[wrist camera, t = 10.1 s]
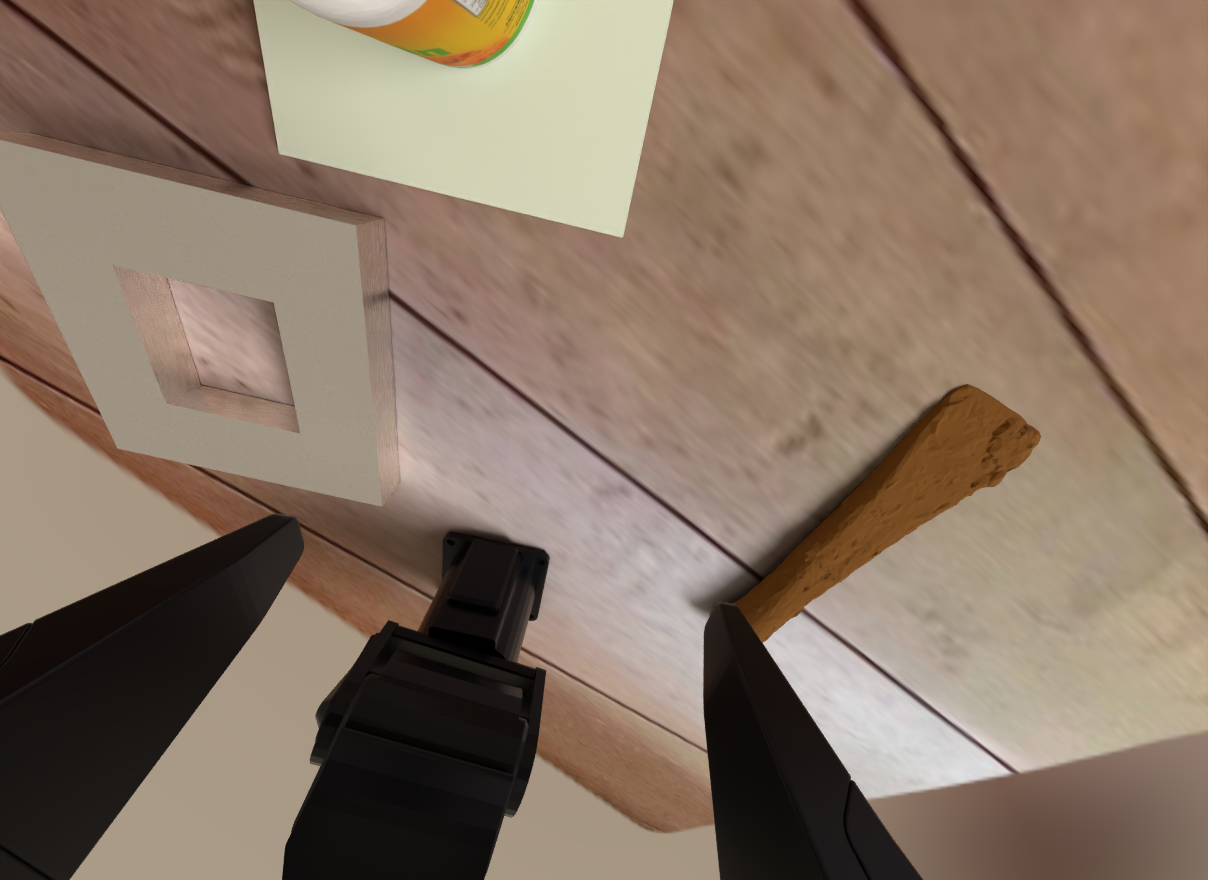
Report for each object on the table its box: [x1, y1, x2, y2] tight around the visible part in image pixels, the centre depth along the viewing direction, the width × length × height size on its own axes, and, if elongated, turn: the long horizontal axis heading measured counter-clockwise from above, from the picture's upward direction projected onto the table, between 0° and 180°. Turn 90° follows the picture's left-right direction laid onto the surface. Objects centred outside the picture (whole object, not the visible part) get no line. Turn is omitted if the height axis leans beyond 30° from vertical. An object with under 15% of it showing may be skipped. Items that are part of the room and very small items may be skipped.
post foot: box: [0, 132, 400, 507], centre depth 21 cm, size 14×14×2 cm
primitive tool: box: [710, 384, 1041, 643], centre depth 24 cm, size 19×6×4 cm, turn 151°
